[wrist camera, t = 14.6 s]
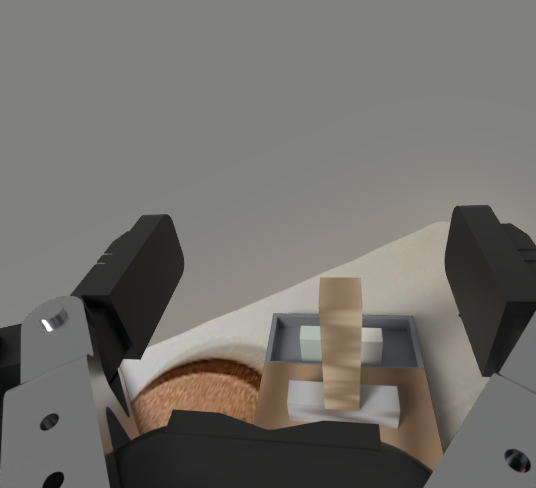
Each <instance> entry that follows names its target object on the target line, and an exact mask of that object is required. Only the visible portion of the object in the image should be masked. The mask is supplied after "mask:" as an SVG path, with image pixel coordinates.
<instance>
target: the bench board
mask: <svg viewBox="0 0 536 488" xmlns="http://www.w3.org/2000/svg"><path fill="white" fill-rule="evenodd" d="M289 380H294V381H311V382H323V368H322V365H314V364H291V363H269V362H265V363H264V368H263V374H262V380H261V385H260V391H259V396H258V402H257V407H256V413H255V419H254V424H253V425H255V426H258V427H261V428H263V429H268V430H273V429H279V428H285V427H290V426H296V425H301V424H307V423H312V422H303V421H290V419H289V413H288V407H287V398H288V389H289ZM360 384H364V385H382V386H397V391H398V398H399V405H400V416H399V423H398V429H395V428H382V427H379V429H380V439H381V441H382V442H384V443H387V444H390V445H393V446H395V447H397V448H399V449H401V450H403V451H405V452H407V453H408V454H410V455H412V456H413V457H415V458H417V459H418V460H420V461H421V462H422V463H423V464H425V465H426V466H427V467H429V468H430V469H431V470H432V471H434V469H435V468H436V466H437V465H438V463H439V461H440V460H441V458H442V456H443V451H442V446H441V442H440V437H439V432H438V428H437V423H436V419H435V414H434V410H433V405H432V400H431V396H430V391H429V387H428V382H427V378H426V373H425V369H405V368H382V367H361V372H360Z"/></svg>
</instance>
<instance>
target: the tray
mask: <svg viewBox="0 0 536 488" xmlns="http://www.w3.org/2000/svg"><path fill="white" fill-rule="evenodd" d="M301 326H320V321H319V314H283V313H273V319H272V325H271V330H270V336H269V341H268V347H267V353H266V358H265V362H269V363H291V364H314V365H322V362H302V356H301V347H300V330H301ZM362 328H381V330H382V338H383V349H382V361H381V365H362V364H361V367H382V368H405V369H424V365H423V360H422V356H421V351H420V346H419V342H418V337H417V333H416V328H415V324H414V319H413V316H386V315H362Z"/></svg>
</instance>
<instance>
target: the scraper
mask: <svg viewBox="0 0 536 488" xmlns="http://www.w3.org/2000/svg"><path fill="white" fill-rule="evenodd" d="M319 321H320V336H321V352H322V368H323V382H311V381H294V380H289V389H288V398H287V407H288V413H289V419H290V421H303V422H318V421H323V420H327V421H341V422H355V423H369V424H379V427H382V428H395V429H398V423H399V416H400V405H399V398H398V391H397V386H382V385H364V384H360V372H361V339H362V292H361V278H320V289H319Z"/></svg>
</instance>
